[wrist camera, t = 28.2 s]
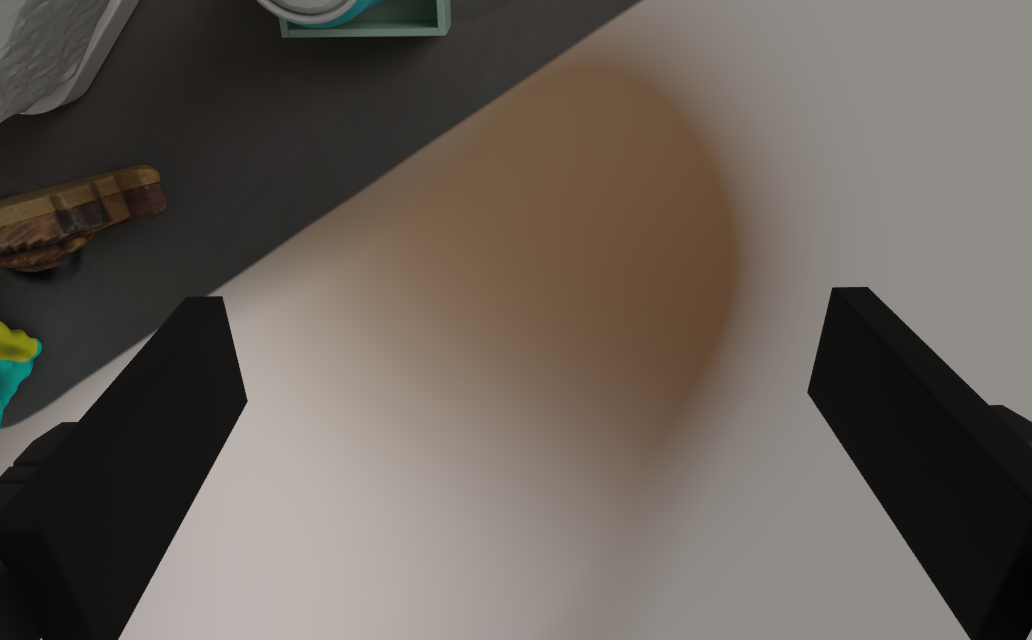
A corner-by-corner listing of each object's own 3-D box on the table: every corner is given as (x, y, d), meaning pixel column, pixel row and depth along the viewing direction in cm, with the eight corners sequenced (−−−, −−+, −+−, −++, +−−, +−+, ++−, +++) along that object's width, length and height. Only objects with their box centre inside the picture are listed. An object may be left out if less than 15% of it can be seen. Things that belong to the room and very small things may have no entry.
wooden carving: (-2, 260, 48) (-113, 332, 39) (-47, 199, 46) (-176, 262, 37) (211, 188, 46) (142, 249, 37) (174, 122, 44) (92, 169, 35)
